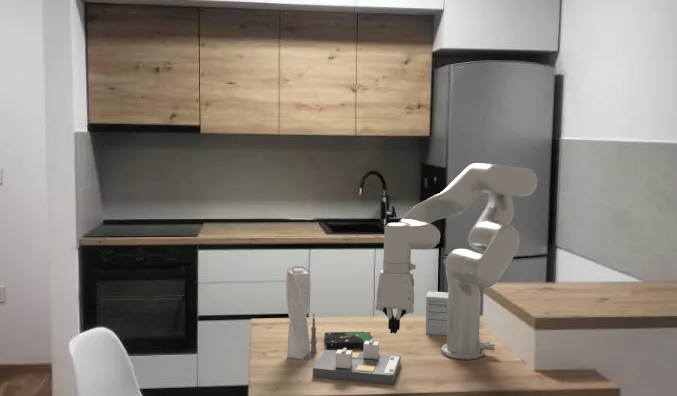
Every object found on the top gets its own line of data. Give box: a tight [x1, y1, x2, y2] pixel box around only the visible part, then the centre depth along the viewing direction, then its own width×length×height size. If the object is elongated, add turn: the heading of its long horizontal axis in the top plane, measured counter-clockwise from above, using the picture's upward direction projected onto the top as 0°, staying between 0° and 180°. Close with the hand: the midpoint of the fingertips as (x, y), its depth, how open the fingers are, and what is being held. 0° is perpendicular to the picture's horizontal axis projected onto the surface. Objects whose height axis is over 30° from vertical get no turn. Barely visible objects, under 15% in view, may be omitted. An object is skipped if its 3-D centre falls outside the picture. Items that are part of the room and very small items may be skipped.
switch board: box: [312, 349, 402, 385], centre depth 182 cm, size 22×15×3 cm
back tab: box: [362, 338, 380, 359], centre depth 185 cm, size 4×3×5 cm
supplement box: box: [425, 290, 448, 336], centre depth 216 cm, size 7×7×13 cm
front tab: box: [336, 348, 353, 369], centre depth 178 cm, size 4×3×5 cm
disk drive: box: [324, 331, 374, 350], centre depth 204 cm, size 10×3×15 cm
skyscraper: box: [285, 265, 319, 361], centre depth 192 cm, size 8×8×28 cm
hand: (393, 331), depth 183 cm, fingers closed
